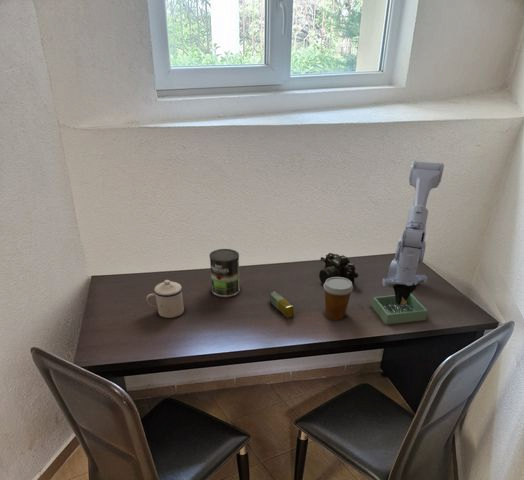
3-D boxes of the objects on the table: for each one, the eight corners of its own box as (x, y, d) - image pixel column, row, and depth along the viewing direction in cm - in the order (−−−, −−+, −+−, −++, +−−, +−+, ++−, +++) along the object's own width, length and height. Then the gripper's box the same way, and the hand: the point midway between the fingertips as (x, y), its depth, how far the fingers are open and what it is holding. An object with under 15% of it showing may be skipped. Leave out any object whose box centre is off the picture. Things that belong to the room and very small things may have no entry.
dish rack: (391, 317, 152) (393, 303, 149) (382, 306, 157) (384, 293, 154) (415, 314, 153) (418, 301, 150) (405, 304, 158) (408, 291, 155)
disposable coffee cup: (331, 325, 150) (334, 292, 143) (315, 311, 157) (318, 280, 150) (355, 318, 154) (359, 285, 147) (338, 305, 160) (342, 273, 153)
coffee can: (232, 299, 164) (231, 262, 155) (207, 294, 167) (204, 257, 158) (244, 286, 171) (243, 251, 163) (219, 281, 174) (217, 246, 166)
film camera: (305, 280, 175) (307, 256, 169) (324, 269, 183) (326, 245, 177) (345, 295, 166) (348, 270, 160) (363, 283, 174) (366, 258, 168)
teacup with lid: (184, 303, 161) (180, 273, 154) (184, 317, 154) (181, 286, 147) (149, 306, 159) (144, 276, 153) (148, 320, 152) (142, 289, 145)
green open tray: (385, 325, 150) (387, 315, 148) (371, 307, 159) (373, 297, 157) (425, 321, 152) (427, 310, 150) (408, 303, 162) (411, 293, 159)
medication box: (270, 302, 162) (268, 293, 159) (276, 300, 163) (275, 290, 160) (287, 318, 153) (286, 308, 151) (294, 315, 154) (293, 305, 151)
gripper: (391, 273, 141) (384, 311, 149) (435, 269, 143) (425, 306, 151) (382, 263, 147) (375, 300, 155) (424, 259, 149) (416, 296, 157)
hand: (400, 302), depth 153 cm, fingers closed on dish rack
